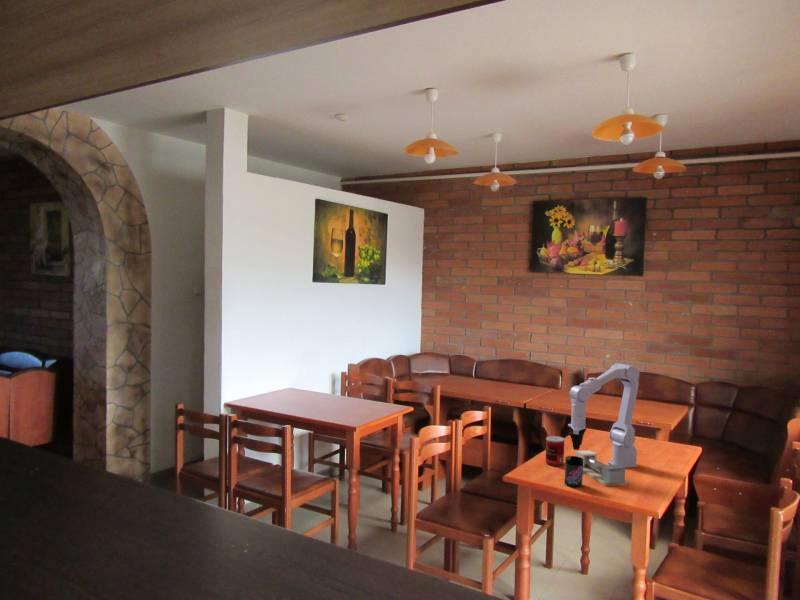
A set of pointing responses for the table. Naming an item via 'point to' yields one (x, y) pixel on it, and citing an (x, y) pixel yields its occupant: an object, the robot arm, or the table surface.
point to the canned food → (554, 450)
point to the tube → (593, 464)
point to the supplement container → (573, 471)
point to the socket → (613, 473)
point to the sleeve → (586, 454)
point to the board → (600, 476)
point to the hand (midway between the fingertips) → (577, 447)
